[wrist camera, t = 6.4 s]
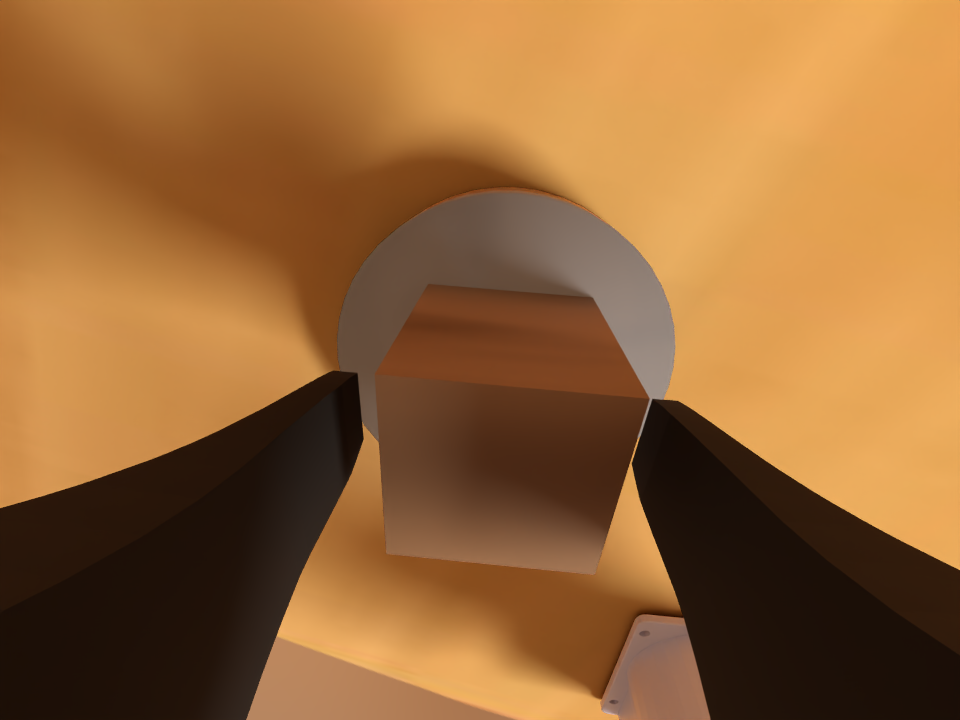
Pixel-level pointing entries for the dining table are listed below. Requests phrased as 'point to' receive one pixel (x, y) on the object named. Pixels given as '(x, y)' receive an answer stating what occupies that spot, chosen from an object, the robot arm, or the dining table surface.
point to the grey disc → (506, 278)
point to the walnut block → (505, 429)
